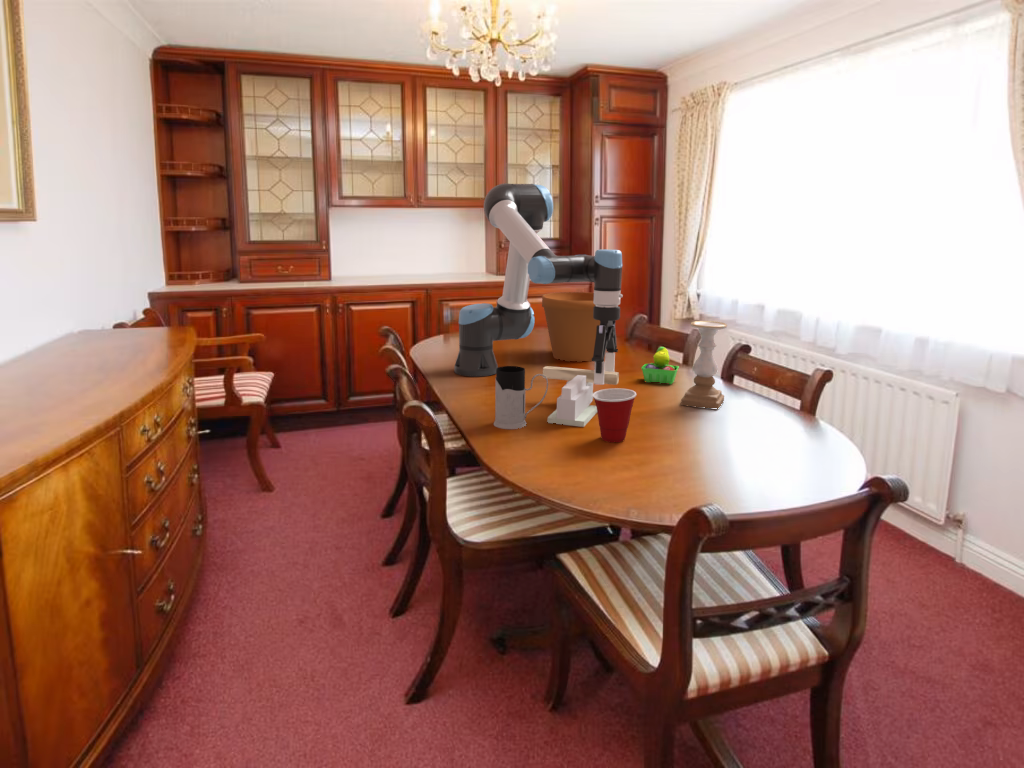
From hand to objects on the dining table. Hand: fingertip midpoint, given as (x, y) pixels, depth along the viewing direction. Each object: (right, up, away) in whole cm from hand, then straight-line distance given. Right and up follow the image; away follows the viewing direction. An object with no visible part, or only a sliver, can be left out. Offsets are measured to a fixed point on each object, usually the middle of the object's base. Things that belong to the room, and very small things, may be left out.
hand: (604, 379), depth 200 cm
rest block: (-7, -7, +5) cm, 11 cm away
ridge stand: (-10, -10, -9) cm, 17 cm away
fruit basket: (+23, -1, +32) cm, 40 cm away
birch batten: (-7, 0, +3) cm, 7 cm away
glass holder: (-24, -12, -16) cm, 32 cm away
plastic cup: (-2, -15, -27) cm, 31 cm away
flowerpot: (-1, +9, +70) cm, 70 cm away
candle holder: (+30, -7, +6) cm, 31 cm away
